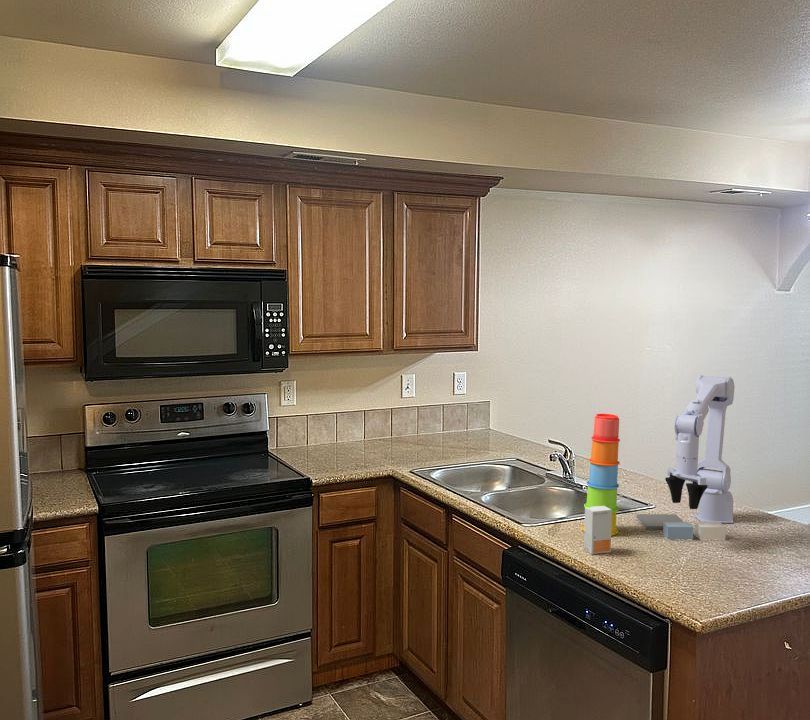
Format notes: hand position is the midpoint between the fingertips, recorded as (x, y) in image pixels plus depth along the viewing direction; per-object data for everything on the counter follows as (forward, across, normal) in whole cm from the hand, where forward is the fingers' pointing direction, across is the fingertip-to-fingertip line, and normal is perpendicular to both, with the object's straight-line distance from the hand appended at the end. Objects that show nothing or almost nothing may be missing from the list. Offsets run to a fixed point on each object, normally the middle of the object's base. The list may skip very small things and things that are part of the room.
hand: (684, 505), depth 214 cm
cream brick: (+10, -1, +10) cm, 14 cm away
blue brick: (+10, -4, +1) cm, 11 cm away
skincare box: (+12, -1, -26) cm, 29 cm away
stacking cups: (+11, -16, -17) cm, 25 cm away
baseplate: (+9, -16, +4) cm, 19 cm away
